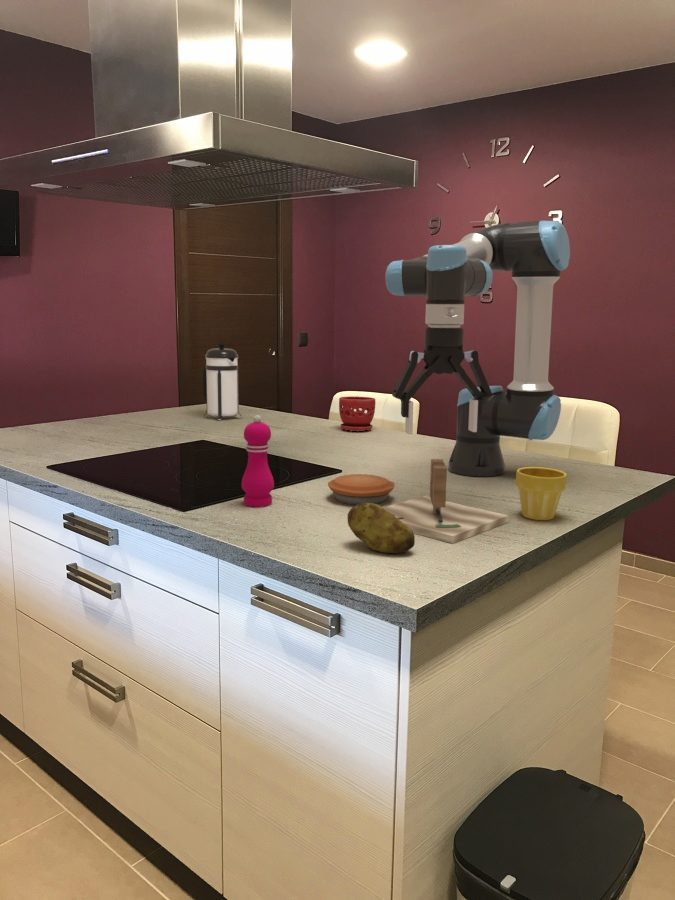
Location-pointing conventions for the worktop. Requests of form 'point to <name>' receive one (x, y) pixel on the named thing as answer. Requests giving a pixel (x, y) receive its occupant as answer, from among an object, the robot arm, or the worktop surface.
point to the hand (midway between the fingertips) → (440, 432)
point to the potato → (380, 529)
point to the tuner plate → (445, 519)
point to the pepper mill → (257, 465)
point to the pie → (360, 488)
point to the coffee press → (221, 382)
